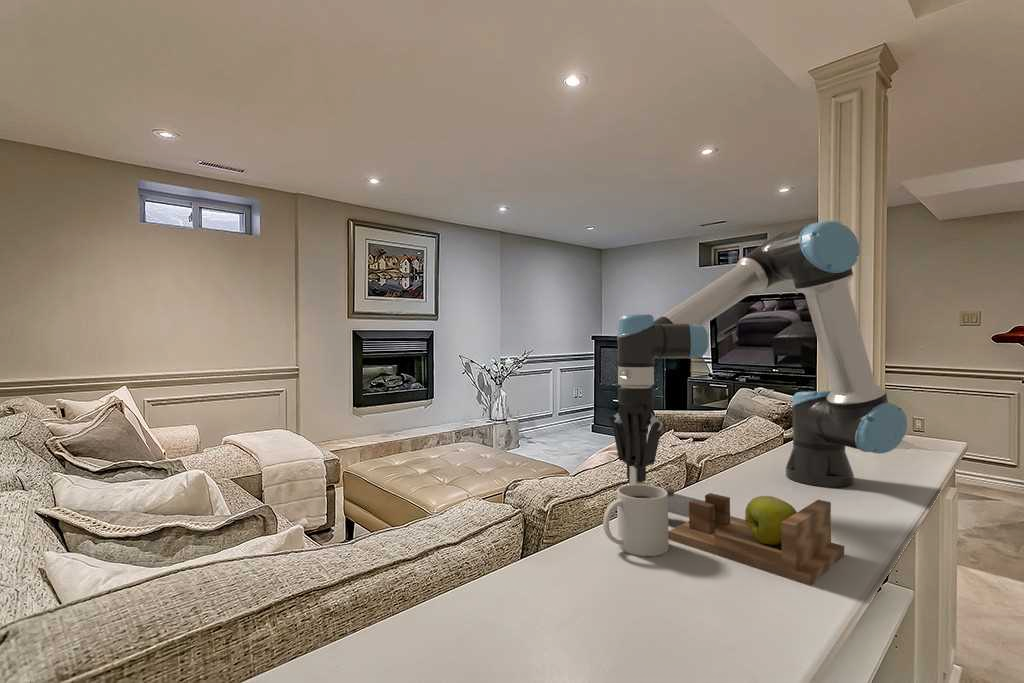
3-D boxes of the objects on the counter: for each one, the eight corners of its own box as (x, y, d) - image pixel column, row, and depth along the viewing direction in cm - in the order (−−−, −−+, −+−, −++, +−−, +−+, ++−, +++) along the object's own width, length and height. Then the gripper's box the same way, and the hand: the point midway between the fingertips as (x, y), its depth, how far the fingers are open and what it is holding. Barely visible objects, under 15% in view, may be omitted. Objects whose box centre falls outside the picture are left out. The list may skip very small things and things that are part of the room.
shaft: (668, 508, 106) (668, 487, 106) (715, 521, 98) (715, 498, 98) (656, 513, 103) (656, 491, 103) (704, 527, 95) (703, 504, 95)
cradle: (710, 518, 105) (710, 477, 105) (844, 554, 87) (843, 505, 87) (668, 539, 94) (667, 493, 94) (809, 585, 76) (809, 529, 76)
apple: (732, 537, 91) (732, 493, 91) (774, 531, 93) (774, 488, 93) (765, 555, 83) (765, 507, 83) (810, 548, 86) (809, 501, 86)
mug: (669, 539, 94) (668, 486, 94) (667, 561, 85) (666, 502, 85) (610, 533, 98) (609, 481, 98) (602, 553, 89) (601, 496, 89)
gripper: (600, 385, 111) (601, 492, 111) (651, 389, 101) (652, 507, 102) (621, 383, 116) (622, 485, 116) (672, 387, 106) (673, 499, 107)
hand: (636, 495), depth 109 cm, fingers closed
